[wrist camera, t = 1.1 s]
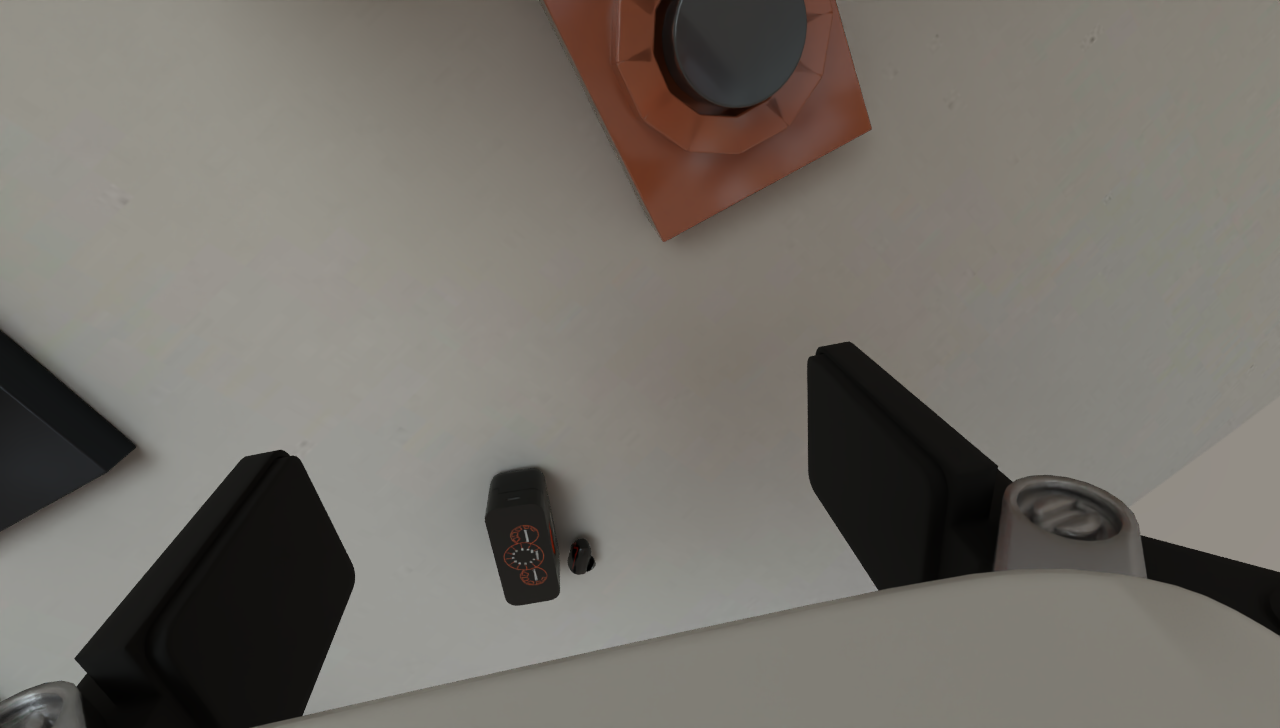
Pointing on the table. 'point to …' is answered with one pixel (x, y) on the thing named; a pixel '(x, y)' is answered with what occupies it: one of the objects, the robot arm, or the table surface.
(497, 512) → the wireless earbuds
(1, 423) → the panel
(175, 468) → the table surface
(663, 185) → the push button box
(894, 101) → the table surface
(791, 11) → the button
